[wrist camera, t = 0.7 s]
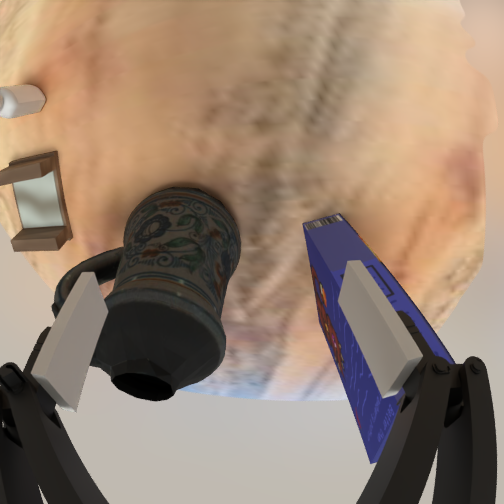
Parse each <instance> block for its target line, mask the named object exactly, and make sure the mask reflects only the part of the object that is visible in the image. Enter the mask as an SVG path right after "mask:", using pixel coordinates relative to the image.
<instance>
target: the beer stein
mask: <svg viewBox="0 0 504 504" xmlns="http://www.w3.org/2000/svg"><path fill="white" fill-rule="evenodd" d="M123 243H124V247H120V248H116V249H113V250H109V251H106V252H103V253H101V254H98V255H96V256H93V257H91V258H89V259H87V260H85V261H83V262H81V263H80V264H78V265H77V266H75V267H73V268H72V269H71V270H69V271H68V272H67V273H66V274H65V275H64V276H63V277H62V279H61V280H60V281H59V283H58V285H57V287H56V291H55V296H54V303H53V305H52V311H53V313H54V316H55V319H56V318H57V316H58V314H59V312H60V310H61V308H62V306H63V305H64V303H65V301H66V299H67V297H68V296H69V294H70V292H71V290H72V289H73V287H74V285H75V283H76V282H77V280H78V278H79V277H80V275H81V273H82V272H94V273H95V276H96V279H97V282H98V285H101V284H103V283H106V282H108V281H110V280H113V279H115V283H114V287H113V291H112V292H111V293H110V294H109V295H108V296H107V297H106V298H105V299H104V301H105V304H106V307H107V309H108V314H107V317H106V319H105V322H104V324H103V327H102V330H101V333H100V335H99V338H98V341H97V344H96V347H95V350H94V353H93V356H92V359H91V362H90V365H89V366H93V367H99V368H101V369H102V370H103V371H105V372H106V373H107V374H109V375H110V376H111V382H112V383H113V384H114V385H115V386H116V387H117V388H118V389H119V390H121V391H123V392H125V393H127V394H129V395H132V396H134V397H136V398H140V399H145V400H150V401H161V400H167V399H169V398H171V397H172V396H173V395H174V394H175V392H176V390H178V389H181V388H183V387H186V386H188V385H191V384H194V383H198V382H199V381H201V380H203V379H205V378H206V377H208V376H209V375H210V374H212V373H213V372H214V371H215V370H216V369H217V368H218V367H219V365H220V364H221V363H222V361H223V358H224V356H225V349H226V335H225V332H224V329H223V325H222V323H221V320H220V319H221V314H222V309H223V304H224V298H225V294H226V289H227V285H228V282H229V279H230V278H231V276H232V275H233V273H234V271H235V270H236V267H237V265H238V262H239V258H240V252H241V241H240V235H239V231H238V228H237V226H236V223H235V222H234V220H233V218H232V217H231V215H230V214H229V213H228V212H227V210H226V209H225V207H224V206H223V204H222V203H221V202H220V201H219V200H217V199H215V198H214V197H212V196H210V195H208V194H207V193H205V192H203V191H202V190H200V189H196V188H182V187H172V188H169V189H166V190H163V191H160V192H158V193H155V194H153V195H151V196H149V197H148V198H146V199H145V200H143V201H142V202H141V203H140V204H139V205H138V206H137V207H136V208H135V209H134V211H133V212H132V214H131V215H130V217H129V219H128V221H127V224H126V227H125V231H124V240H123Z"/></svg>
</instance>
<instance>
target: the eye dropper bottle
mask: <svg viewBox="0 0 504 504" xmlns="http://www.w3.org/2000/svg"><path fill="white" fill-rule="evenodd" d="M45 101H46V99H45V96H44V94H43V93H42V91H41V90H40V89H39V88H38V87H36V86H34V85H15V86H6V87H0V116H1V117H3V118H15V117H20V116H24V115H28V114H33V113H38V112H40V111H41V109H42V107H43V105H44V103H45Z"/></svg>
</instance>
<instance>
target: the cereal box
mask: <svg viewBox="0 0 504 504" xmlns="http://www.w3.org/2000/svg"><path fill="white" fill-rule="evenodd" d="M303 229H304V234H305V239H306V245H307V250H308V256H309V261H310V267H311V273H312V279H313V285H314V291H315V297H316V303H317V310H318V317H319V323H320V325H321V328H322V330H323V333H324V335H325V338H326V341H327V343H328V346H329V348H330V351H331V354H332V356H333V359H334V362H335V364H336V367H337V370H338V372H339V375H340V378H341V380H342V383H343V386H344V388H345V391H346V394H347V397H348V400H349V402H350V405H351V408H352V411H353V414H354V416H355V419H356V422H357V425H358V428H359V430H360V433H361V437H362V439H363V443H364V445H365V449H366V451H367V455H368V458H369V461H370V464H372V463H375V462H378V460H379V457H380V455H381V453H382V450H383V448H384V446H385V443H386V441H387V438H388V436H389V433H390V431H391V428H392V425H393V423H394V420H395V417H396V414H397V412H398V409H399V406H400V404H399V405H398V406H397V405H396V404H397V402H398V401H399V399H400V398H401V397H402V396H403V394H404V393H405V391H404V389H403V387H402V388H401V389H400V391H399V392H398V393H397V394H396V395H392V396H389V397H386V398H382V396H381V394H380V391H379V389H378V387H377V384H376V382H375V380H374V377H373V375H372V373H371V371H370V368H369V366H368V364H367V362H366V360H365V357H364V355H363V353H362V351H361V349H360V346H359V344H358V342H357V340H356V338H355V336H354V334H353V332H352V329H351V327H350V325H349V323H348V321H347V319H346V317H345V315H344V313H343V311H342V309H341V307H340V305H339V303H338V298H339V295H340V291H341V286H342V282H343V278H344V274H345V269H346V265H347V261H353V260H361V262H362V263H363V265H364V266H365V267H366V269H367V270H368V272H369V273H370V274H371V276H372V277H373V279H374V280H375V282H376V283H377V284H378V286H379V287H380V289H381V290H382V292H383V293H384V295H385V296H386V298H387V299H388V301H389V302H390V304H391V305H392V307H393V308H394V310H395V311H400V310H402V311H404V312H405V313H406V314H407V315H409V316H410V317H411V319H412V320H413V322H414V323H415V326H417V328H418V329H419V332H420V333H421V334H422V335H423V337H424V339H425V340H426V342H427V343H428V345H429V347H430V348H431V350H432V351H433V353H434V354H435V356H440V357H443V358H445V359H446V360H447V361H448V362H449V363H450V364H456V363H455V361H454V360H453V358H452V357H451V355H450V354H449V352H448V351H447V349H446V348H445V346H444V345H443V343H442V342H441V340H440V339H439V337H438V336H437V334H436V333H435V331H434V330H433V328H432V327H431V326H430V324H429V323H428V321H427V320H426V319H425V317H424V316H423V314H422V313H421V312H420V310H419V309H418V308H417V306H416V305H415V304H414V302H413V301H412V300H411V298H410V297H409V296H408V294H407V293H406V292H405V290H404V289H403V288H402V286H401V285H400V284H399V283H398V281H397V280H396V279H395V278H394V276H393V275H392V274H391V273H390V271H389V270H388V269H387V268H386V266H385V265H384V264H383V263H382V261H381V260H380V259H379V258H378V257H377V255H376V254H375V253H374V252H373V251H372V250H371V248H370V247H369V246H368V245H367V244H366V243H365V241H364V240H363V239H362V238H361V237H360V236H359V234H358V233H357V232H356V231H355V230H354V229H353V228H352V227H351V225H350V224H349V223H348V222H347V221H346V220H345V219H344V218H343V217H342V216H341V214H340V213H339V214H336V215H332V216H328V217H325V218H321V219H317V220H314V221H310V222H307V223H303ZM400 403H401V402H400Z"/></svg>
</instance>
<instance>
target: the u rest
mask: <svg viewBox="0 0 504 504" xmlns="http://www.w3.org/2000/svg"><path fill="white" fill-rule="evenodd" d="M11 183H12V185H13V191H14V195H15V200H16V204H17V209H18V213H19V217H20V220H21V224H22V228H23V229H22V230H21V231H20V232H19V233H18V234H17V235H16V236H15V237H14V238H13V239H12V240H11V244H12V246H13V249H14V251H15V252H20V251H59V250H60V248H61V247H62V246H63V245H64V243H65V242H66V241H67V240H71V239H72V238H73V236H72V232H71V227H70V223H69V219H68V214H67V209H66V204H65V199H64V194H63V188H62V182H61V176H60V169H59V161H58V153H57V151H54V152H50V153H45V154H40V155H36V156H32V157H27V158H23V159H19V160H16V161H12V162H10V163H9V166H8V167H6V168H5V169H3V170H1V171H0V186H2V185H6V184H11Z"/></svg>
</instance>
